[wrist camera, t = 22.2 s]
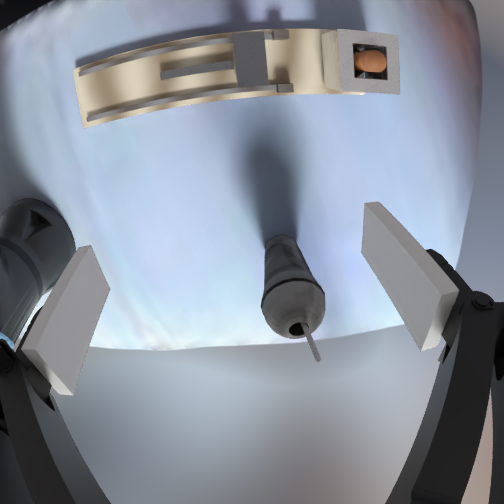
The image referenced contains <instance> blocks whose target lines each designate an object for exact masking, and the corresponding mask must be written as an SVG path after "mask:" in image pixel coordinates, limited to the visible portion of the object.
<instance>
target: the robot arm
mask: <svg viewBox="0 0 504 504" xmlns="http://www.w3.org/2000/svg"><path fill="white" fill-rule="evenodd" d="M361 253H362V254H363V256H364V258H365V259H366V261H367V262H368V264H369V265H370V267H371V268H372V270H373V272H374V273H375V275H376V276H377V278H378V279H379V281H380V283H381V284H382V286H383V288H384V289H385V291H386V292H387V294H388V296H389V297H390V299H391V301H392V302H393V304H394V306H395V307H396V309H397V311H398V312H399V314H400V316H401V318H402V319H403V321H404V323H405V325H406V326H407V328H408V330H409V331H410V333H411V335H412V337H413V339H414V340H415V342H416V344H417V346H418V348H419V350H420V351H424V350H427V349H430V348H433V347H436V346H437V345H438V343H439V341H440V338H441V336H443V338H444V340H445V341H446V345H445V347H444V349H443V351H442V353H441V355H440V357H439V359H438V361H440V365H439V369H438V373H437V376H436V380H435V383H434V387H433V390H432V393H431V396H430V400H429V403H428V406H427V409H426V411H425V414H424V417H423V420H422V423H421V426H420V428H419V431H418V434H417V436H416V439H415V441H414V444H413V446H412V448H411V451H410V453H409V456H408V458H407V460H406V462H405V465H404V467H403V469H402V471H401V473H400V476H399V478H398V480H397V482H396V484H395V486H394V488H393V490H392V492H391V494H390V496H389V498H388V499H387V501H386V503H385V504H461V501H462V497H463V495H464V492H465V489H466V486H467V484H468V481H469V478H470V474H471V471H472V468H473V465H474V462H475V458H476V455H477V451H478V447H479V443H480V439H481V435H482V431H483V426H484V422H485V417H486V411H487V406H488V400H489V394H490V388H491V397H492V414H493V461H492V476H491V488H490V497H489V504H504V302H494V300H493V299H492V298H491V297H490V296H489V295H487V294H485V293H483V292H479V291H472V290H471V288H470V287H469V286H468V285H467V284H466V282H465V281H464V280H463V279H462V278H461V277H460V275H459V274H458V273H457V272H456V271H455V270H454V269H453V267H452V266H451V265H450V264H448V262H447V261H446V260H445V258H444V257H443V256H442V255H441V254H439V253H437V252H436V251H434V250H432V249H428V250H425V249H424V248H423V247H422V246H421V245H420V244H419V243H418V242H417V240H416V239H415V238H414V237H413V236H412V235H411V234H410V233H409V232H408V231H407V230H406V229H405V228H404V227H403V225H402V224H401V223H400V222H399V221H398V220H397V219H396V218H395V217H394V216H393V215H392V214H391V213H390V212H389V211H388V210H387V209H386V208H385V207H384V206H383V205H382V204H381V203H380V202H370V203H364V222H363V237H362V249H361ZM52 289H53V290H52ZM50 290H52V291H51V293H50V295H49V297H48V298H47V300H46V302H45V304H44V305H43V306H42V307H41V308H40V309H39V310H38V311H37V312H36V313H35V315H34V317H33V318H32V320H31V322H30V323H31V324H29V326H28V328H27V331H26V332H25V334H24V336H23V338H22V340H21V342H20V344H19V346H18V348H17V350H16V352H14V351H13V347H14V344H15V342H16V340H17V339H18V337H19V335H20V333H21V331H22V329H23V327H24V326H25V324H26V322H27V320H28V318H29V317H30V315H31V313H32V311H33V310H34V308H35V306H36V305H37V303H38V301H39V300H40V298H41V296H43V295H44V294H46V293H47V292H49V291H50ZM109 291H110V287H109V285H108V283H107V281H106V279H105V276H104V274H103V272H102V270H101V267H100V265H99V263H98V261H97V258H96V256H95V254H94V251H93V249H92V246H91V245H89V246H84V247H79V248H78V249H77V251H76V248H75V243H74V239H73V236H72V234H71V231H70V229H69V228H68V226H67V224H66V223H65V221H64V220H63V219H62V217H61V216H60V215H59V214H58V213H57V212H56V211H55V210H54V209H52V208H51V207H50V206H48V205H47V204H45V203H43V202H41V201H38V200H35V199H22V200H19V201H17V202H15V203H14V204H13V205H11V206H10V207H9V208H8V209H7V210H6V211H5V212H4V213H3V215H2V216H1V218H0V504H111V503H110V502H109V500H108V499H107V497H106V496H105V494H104V493H103V491H102V489H101V488H100V486H99V485H98V483H97V481H96V480H95V478H94V477H93V475H92V473H91V472H90V470H89V468H88V466H87V465H86V463H85V461H84V459H83V458H82V456H81V454H80V452H79V450H78V448H77V446H76V445H75V442H74V440H73V439H72V437H71V435H70V432H69V430H68V428H67V426H66V424H65V422H64V420H63V418H62V415H61V413H60V411H59V409H58V406H57V404H56V402H55V400H54V397H53V396H52V395H51V394H50V389H51V386H52V387H53V388H54V389H55V390H56V391H57V392H58V393H59V394H63V395H74V392H75V389H76V385H77V382H78V379H79V375H80V372H81V369H82V366H83V363H84V360H85V357H86V353H87V351H88V348H89V345H90V342H91V339H92V336H93V334H94V331H95V328H96V325H97V322H98V320H99V317H100V314H101V312H102V309H103V307H104V304H105V301H106V299H107V296H108V294H109ZM33 502H34V503H33Z"/></svg>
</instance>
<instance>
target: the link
mask: <svg viewBox="0 0 504 504" xmlns="http://www.w3.org/2000/svg"><path fill="white" fill-rule="evenodd" d="M321 41H322V54H323V69H324V87H325V88H328V89H332V90H337V91H344V92H370V93H385V94H398V95H400V67H399V45H398V36H397V35H391V34H384V33H377V32H369V31H360V30H349V29H335V30H333V31H330V32H327V33H325V34H322V35H321ZM353 48H359V49H364V51H370V50H377V51H380V52H381V53H382V54H383V55H384V56H385V58H386V61H387V64H386V67H385V69H384V70H383V71H381V72H365V78H362V77H354V59H353Z"/></svg>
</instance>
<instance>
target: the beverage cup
mask: <svg viewBox="0 0 504 504" xmlns="http://www.w3.org/2000/svg"><path fill="white" fill-rule="evenodd" d="M261 309H262V312H263V315H264V317H265V320H266V322H267V323H268V325H269V326H270V327H271V328H272V330H273V331H274V332H276V333H277V334H279V335H281V336H283V337H286V338H290V339H298V338H303V337H305V336H306V338H307V340H308V343H309V345H310V348H311V350H312V352H313V355H314V357H315V360H316V362H320V361H321V358H320V356H319V353H318V351H317V348H316V346H315V343H314V341H313V338H312V336H311V333H312V332H314V331H315V330H316V329H317V328H318V326H319V325H320V324H321V322H322V320H323V317H324V314H325V293H324V291H323V289H322V288H321V286H320V285H319V284H318V283H317V281H316V280H315V278H314V277H313V275H312V273H311V271H310V269H309V267H308V265H307V263H306V261H305V259H304V257H303V255H302V253H301V251H300V249H299V247H298V245H297V244H296V242H295V240H294V239H293V238H291V237H290V236H287V235H278V236H275V237H273V238H271V239H270V240H269V241H268V243H267V244H266V248H265V279H264V293H263V298H262V302H261Z"/></svg>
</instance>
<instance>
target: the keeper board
mask: <svg viewBox="0 0 504 504" xmlns="http://www.w3.org/2000/svg"><path fill="white" fill-rule="evenodd" d="M254 31H264V37H265V48H266V58H267V69H268V80H269V85H266V86H253V87H242V88H238V85H237V75H236V66H235V56H234V47H233V37H232V33H241V32H254ZM330 31H333V30H331V29H265V30H249V31H238V32H228V33H219V34H211V35H204V36H198V37H192V38H186V39H180V40H175V41H170V42H165V43H160V44H156V45H152V46H147V47H143V48H139V49H135V50H132V51H128V52H124V53H121V54H117V55H114V56H111V57H107V58H104V59H101V60H98V61H95V62H92V63H89V64H86V65H83V66H81V67H78V68H75V69H73V72H74V78H75V85H76V91H77V97H78V103H79V108H80V113H81V118H82V123H83V128H87V127H91V126H94V125H98V124H102V123H106V122H109V121H113V120H117V119H121V118H125V117H130V116H134V115H139V114H143V113H148V112H153V111H158V110H163V109H168V108H174V107H179V106H185V105H192V104H198V103H205V102H212V101H220V100H229V99H238V98H248V97H260V96H274V95H294V94H361V95H365V92H344V91H337V90H332V89H328V88H325V87H324V69H323V54H322V41H321V35H322V34H325V33H327V32H330ZM353 59H354V77H362V78H364V71H365V72H381V71H383V70H384V69H385V67H386V64H387V61H386V58H385V56H384V55H383V54H382V53H381V52H380V51H377V50H370V51H363V49H359V48H353ZM232 60H233V62H234V69H230V70H222V71H214V72H207V73H200V74H193V75H187V76H181V77H176V78H171V79H165V80H161V78H160V72H162V71H167V70H172V69H177V68H182V67H188V66H194V65H201V64H208V63H215V62H223V61H232Z"/></svg>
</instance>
